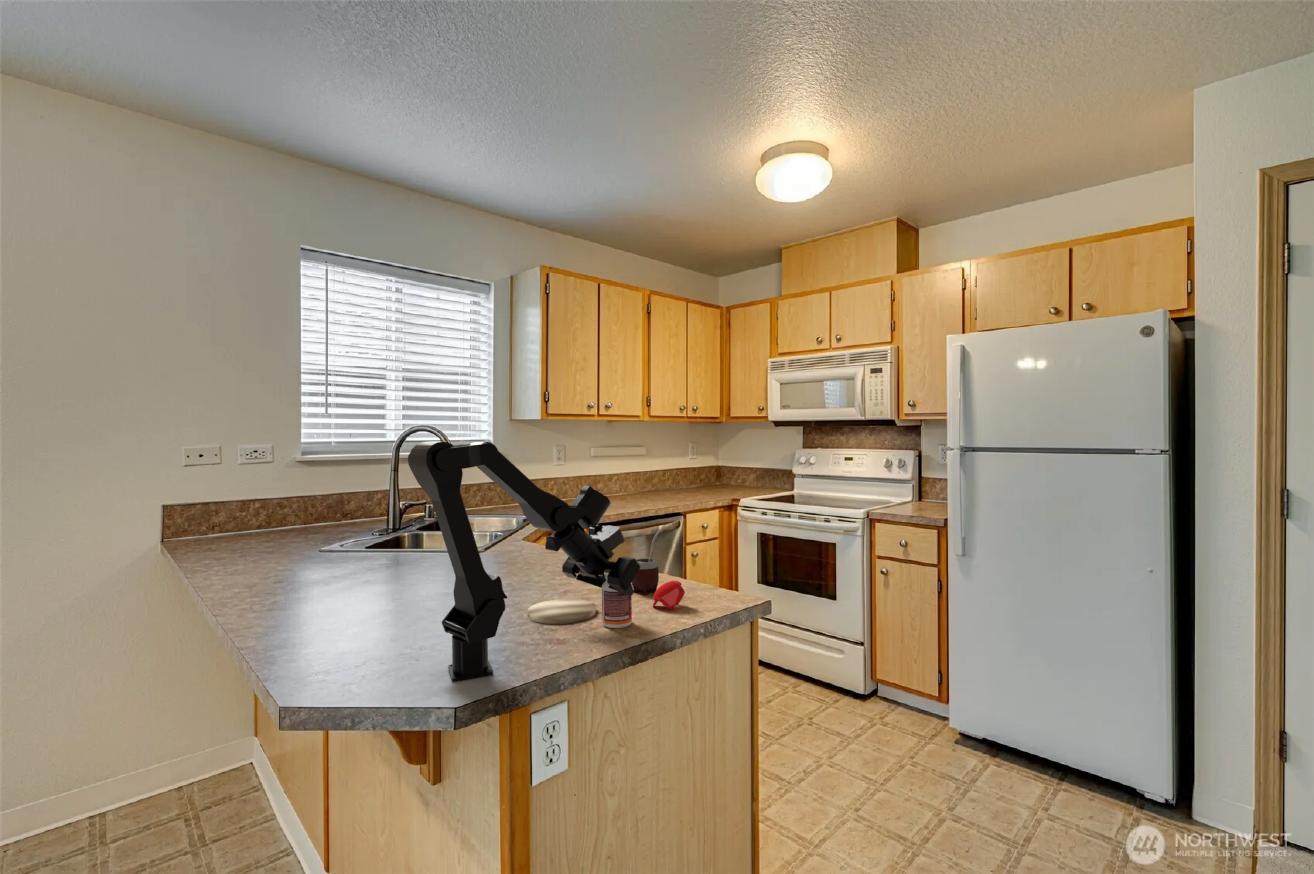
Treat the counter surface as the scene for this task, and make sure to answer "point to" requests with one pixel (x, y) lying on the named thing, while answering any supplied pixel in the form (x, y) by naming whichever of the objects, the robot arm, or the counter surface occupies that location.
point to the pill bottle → (615, 607)
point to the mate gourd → (647, 574)
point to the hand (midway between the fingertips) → (621, 591)
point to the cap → (669, 594)
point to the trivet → (561, 611)
